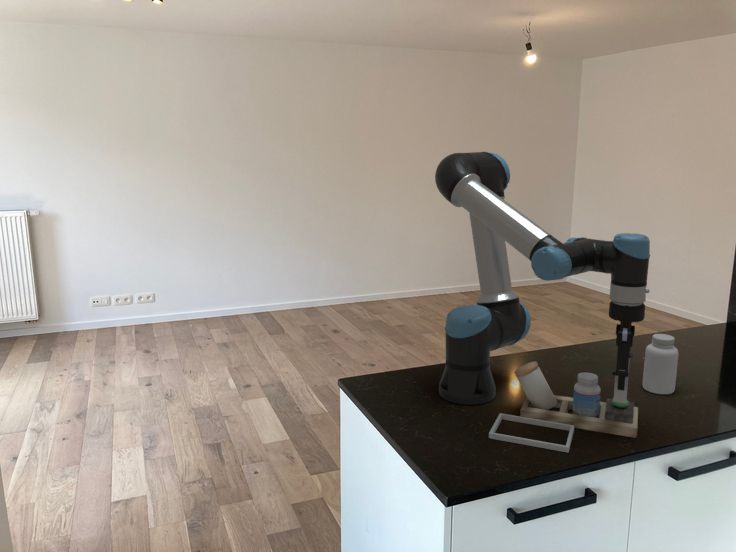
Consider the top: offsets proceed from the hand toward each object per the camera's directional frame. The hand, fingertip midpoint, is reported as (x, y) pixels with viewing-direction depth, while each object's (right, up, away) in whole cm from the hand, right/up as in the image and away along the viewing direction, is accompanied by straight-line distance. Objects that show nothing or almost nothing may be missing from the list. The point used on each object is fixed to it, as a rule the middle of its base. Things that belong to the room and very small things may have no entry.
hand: (620, 392), depth 139 cm
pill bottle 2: (+19, -3, +21) cm, 29 cm away
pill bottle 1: (-7, -8, +4) cm, 11 cm away
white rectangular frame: (-22, -9, -2) cm, 24 cm away
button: (0, -5, +1) cm, 5 cm away
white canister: (-15, -5, +9) cm, 18 cm away
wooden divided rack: (-8, -7, +5) cm, 12 cm away
